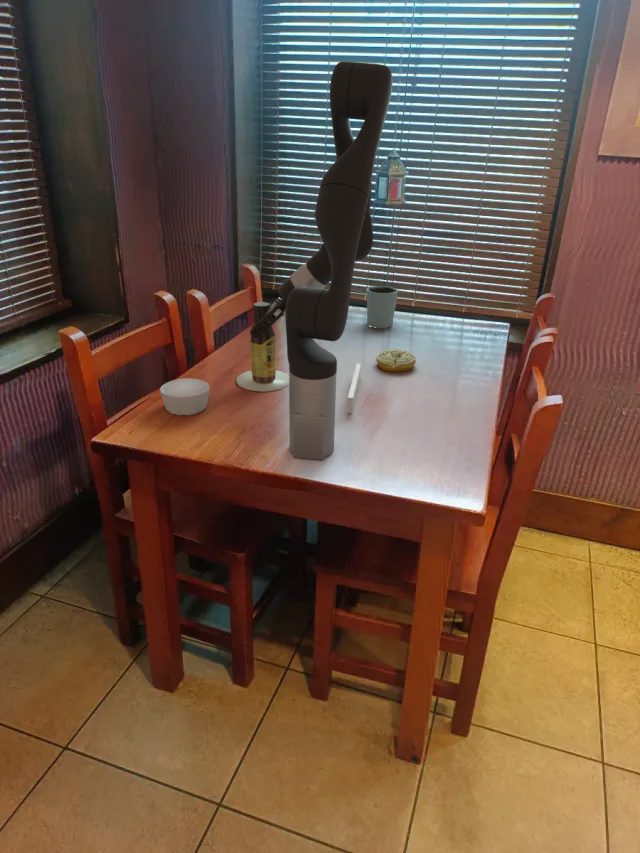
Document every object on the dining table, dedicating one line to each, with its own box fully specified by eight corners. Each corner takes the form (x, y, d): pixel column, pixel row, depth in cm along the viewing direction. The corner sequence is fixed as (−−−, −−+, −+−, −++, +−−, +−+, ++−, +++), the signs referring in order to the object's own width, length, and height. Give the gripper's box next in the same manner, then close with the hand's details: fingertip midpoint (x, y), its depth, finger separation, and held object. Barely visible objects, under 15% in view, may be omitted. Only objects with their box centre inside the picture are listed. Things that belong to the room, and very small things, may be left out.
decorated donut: (368, 365, 167) (369, 352, 165) (396, 357, 173) (397, 344, 171) (394, 376, 160) (395, 363, 158) (422, 368, 166) (423, 355, 164)
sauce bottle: (272, 385, 151) (269, 309, 142) (248, 383, 152) (244, 307, 143) (279, 375, 157) (277, 301, 147) (256, 373, 158) (252, 299, 149)
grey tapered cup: (361, 327, 196) (363, 291, 191) (368, 319, 205) (370, 284, 199) (392, 331, 194) (395, 294, 188) (397, 322, 202) (400, 287, 197)
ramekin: (159, 401, 143) (156, 381, 140) (205, 395, 146) (204, 375, 144) (165, 421, 133) (163, 400, 131) (215, 414, 137) (213, 393, 135)
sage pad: (284, 393, 148) (284, 392, 148) (229, 389, 150) (229, 387, 149) (295, 372, 160) (295, 371, 160) (244, 368, 162) (244, 367, 162)
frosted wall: (352, 413, 139) (352, 397, 137) (347, 413, 139) (347, 397, 137) (360, 377, 158) (361, 363, 156) (355, 377, 158) (356, 363, 156)
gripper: (297, 268, 147) (253, 310, 154) (285, 281, 135) (238, 327, 142) (317, 290, 149) (273, 331, 156) (308, 306, 137) (260, 350, 143)
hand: (257, 329), depth 149 cm, fingers open, 8 cm apart
